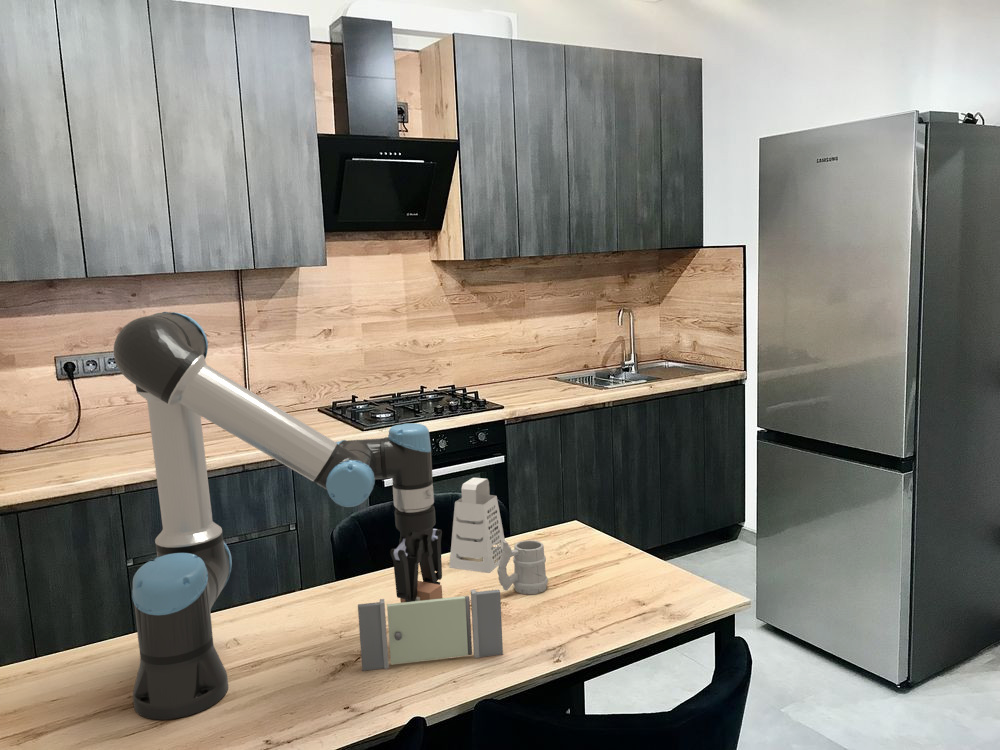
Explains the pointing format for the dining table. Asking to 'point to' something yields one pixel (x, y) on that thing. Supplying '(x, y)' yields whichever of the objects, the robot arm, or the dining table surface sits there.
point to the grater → (476, 528)
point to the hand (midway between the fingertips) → (422, 624)
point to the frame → (483, 624)
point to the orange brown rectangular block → (427, 591)
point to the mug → (524, 567)
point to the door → (429, 629)
